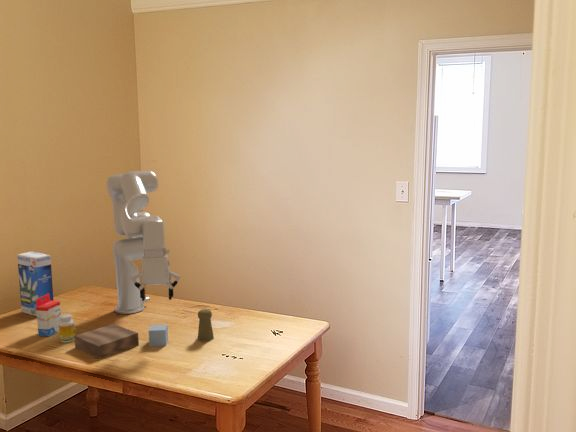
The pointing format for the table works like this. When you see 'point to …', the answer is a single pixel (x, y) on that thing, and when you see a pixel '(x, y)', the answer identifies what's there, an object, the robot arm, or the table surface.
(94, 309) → the table surface
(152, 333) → the blue cube
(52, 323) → the ink box
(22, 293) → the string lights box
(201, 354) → the table surface
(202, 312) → the cork
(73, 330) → the supplement bottle
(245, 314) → the table surface
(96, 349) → the walnut block
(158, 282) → the robot arm
